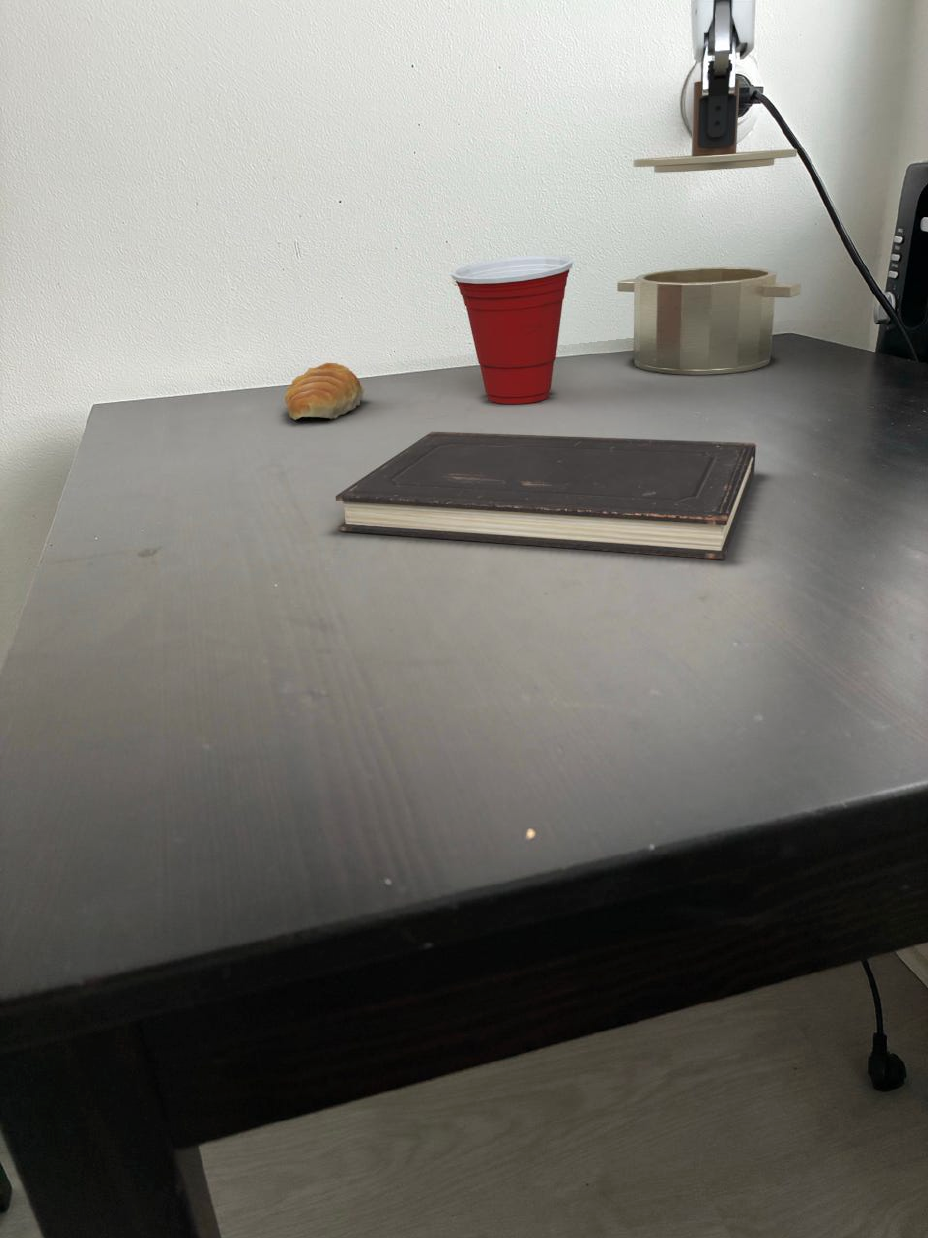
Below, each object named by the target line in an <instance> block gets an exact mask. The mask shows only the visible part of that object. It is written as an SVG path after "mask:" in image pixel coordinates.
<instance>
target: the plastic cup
mask: <svg viewBox="0 0 928 1238" xmlns="http://www.w3.org/2000/svg"><path fill="white" fill-rule="evenodd" d="M573 263H574V257H570V256H566V255H561V254H527V255H516V256H506V257H500V258H494V259H487V260H482V261H478V262H473V263H470V264H465V265H463V266H460V267H458V268H455V269H454V270H453V271H452V272H451V274H450V276H451V278H452V280H454V281H455V283H456V284H457V287H458V289H459V292H460V295H461V296H462V301H463V305H464V307H465V310H466V313H467V318H468V322H469V326H470V331H471V335H472V339H473V344H474V349H475V354H476V358H477V362H478V364H479V367H480V371H481V376H482V381H483V387H484V391H485V393H486V395H487V400H488V401H490V402H491V403H496V404H501V405H502V404H503V405H506V404H507V405H522V404H530V403H537V402H540V401H541V402H542V401H544V400H546V399H548V398H549V397H550V391H551V390H552V382H553V373H554V366H555V361H556V358H557V349H558V343H559V335H560V325H561V317H562V312H563V311H562V310H563V304H564V303H563V302H564V300H565V293H566V292H565V291H566V287H567V281H568V277H569V273H570V270H571V269H572V268H573Z"/></svg>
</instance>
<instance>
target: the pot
mask: <svg viewBox="0 0 928 1238" xmlns="http://www.w3.org/2000/svg"><path fill="white" fill-rule="evenodd" d="M777 273H778V271H775V270H771V269H768V268H761V267H760V268H759V267H758V268H757V267H746V266H745V267H741V266H740V267H738V266H719V267H718V266H716V267H692V268H691V267H690V268H678V269H677V268H675V269H668V270H667V269H666V270H660V271H651V272H648V273H643V274H640V275H637V276H636V277H635V278H627V279H623V280H619V281H617V282H616V283H617V287H616V289H617V290H616V291H617V292H625V293H626V292H627V293H634V294H633V306H634V307H633V360H634V365H635V367H637V368H639V369H641V370H645V371H648V372H653V373H659V374H668V375H681V376H682V375H683V376H700V375H701V376H707V375H710V376H711V375H725V374H734V373H741V372H742V373H743V372H748V371H752V370H753V371H754V370H757V369H759V368H760V369H761V368H763V367H765V366H767V365H769V364H770V362H771V356H772V345H773V333H774V332H773V331H774V317H775V316H774V315H775V301H776V298H792V297H795V296H799V295H801V292H802V291H801V290H802V283H801V282H777Z"/></svg>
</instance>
